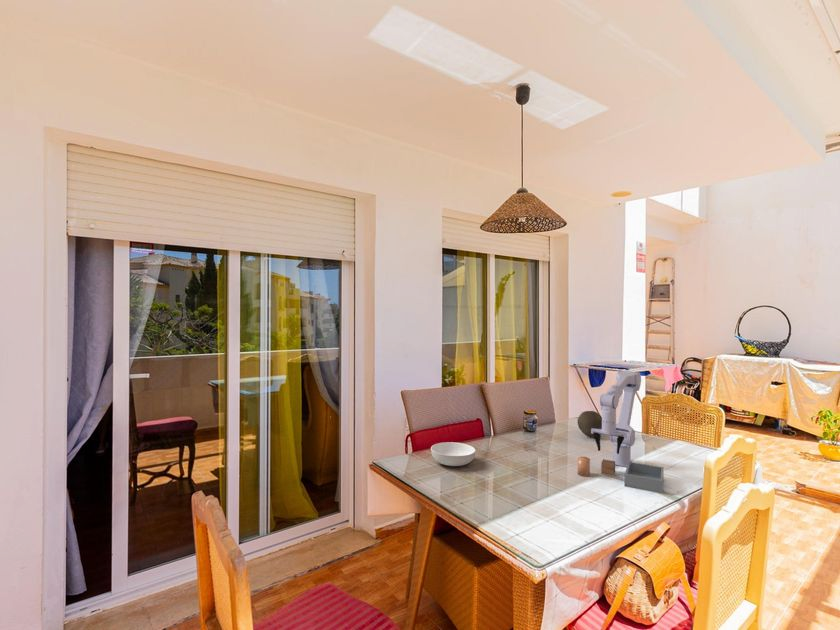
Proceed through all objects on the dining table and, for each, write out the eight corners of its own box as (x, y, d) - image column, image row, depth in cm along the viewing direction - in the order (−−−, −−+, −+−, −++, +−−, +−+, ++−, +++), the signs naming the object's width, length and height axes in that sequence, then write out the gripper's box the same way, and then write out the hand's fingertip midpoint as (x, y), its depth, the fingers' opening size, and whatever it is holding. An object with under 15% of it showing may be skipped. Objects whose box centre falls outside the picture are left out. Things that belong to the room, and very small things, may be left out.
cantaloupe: (585, 432, 256) (586, 407, 256) (608, 438, 245) (609, 411, 245) (572, 436, 247) (573, 410, 247) (596, 442, 236) (596, 415, 236)
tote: (628, 472, 191) (628, 461, 191) (663, 479, 184) (663, 467, 184) (624, 486, 176) (624, 473, 176) (662, 493, 169) (662, 480, 169)
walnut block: (602, 470, 194) (603, 459, 194) (615, 472, 192) (615, 461, 192) (601, 473, 190) (601, 462, 190) (613, 475, 187) (613, 464, 187)
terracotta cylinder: (578, 471, 192) (578, 455, 192) (590, 473, 189) (590, 457, 189) (576, 475, 188) (576, 459, 187) (588, 477, 185) (588, 461, 185)
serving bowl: (470, 473, 188) (470, 458, 188) (424, 467, 195) (425, 452, 195) (479, 458, 207) (479, 444, 207) (437, 453, 214) (438, 439, 214)
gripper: (590, 420, 191) (589, 451, 191) (626, 425, 183) (625, 457, 183) (592, 417, 197) (592, 447, 197) (627, 422, 190) (627, 452, 190)
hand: (608, 451), depth 191 cm, fingers open, 7 cm apart
